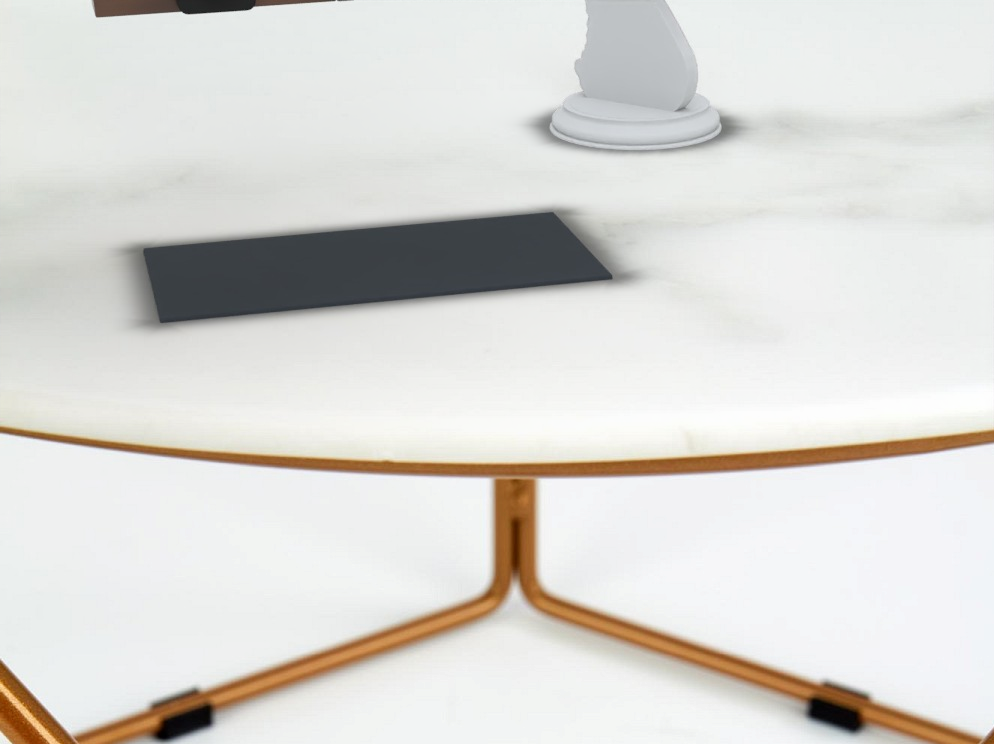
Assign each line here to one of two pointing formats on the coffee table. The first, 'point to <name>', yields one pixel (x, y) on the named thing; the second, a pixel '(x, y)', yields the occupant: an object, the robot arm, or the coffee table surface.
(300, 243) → the slate mat
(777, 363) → the coffee table surface
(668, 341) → the coffee table surface
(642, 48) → the chess piece
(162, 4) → the knife
